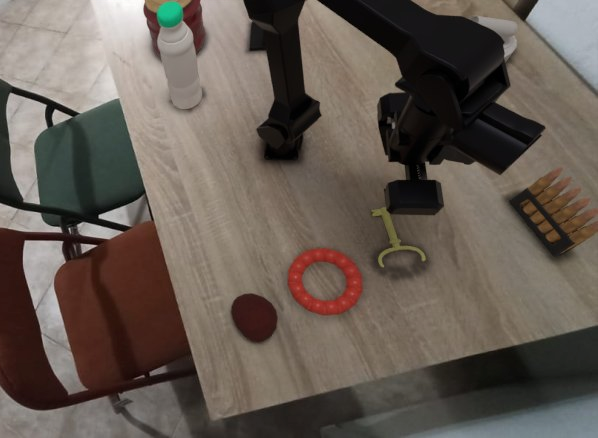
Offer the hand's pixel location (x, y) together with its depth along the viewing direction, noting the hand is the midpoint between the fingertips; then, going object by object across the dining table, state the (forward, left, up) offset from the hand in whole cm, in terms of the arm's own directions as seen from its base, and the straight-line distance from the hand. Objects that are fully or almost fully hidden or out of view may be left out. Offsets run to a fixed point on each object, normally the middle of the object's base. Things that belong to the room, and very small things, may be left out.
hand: (391, 179), depth 69 cm
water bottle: (-37, +27, -13) cm, 48 cm away
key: (+3, -6, -13) cm, 14 cm away
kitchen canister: (-41, +44, -13) cm, 62 cm away
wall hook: (+20, +36, -13) cm, 43 cm away
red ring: (-8, -14, -11) cm, 20 cm away
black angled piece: (-20, +44, -12) cm, 50 cm away
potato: (-19, -22, -13) cm, 32 cm away
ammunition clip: (+24, -1, -13) cm, 27 cm away
